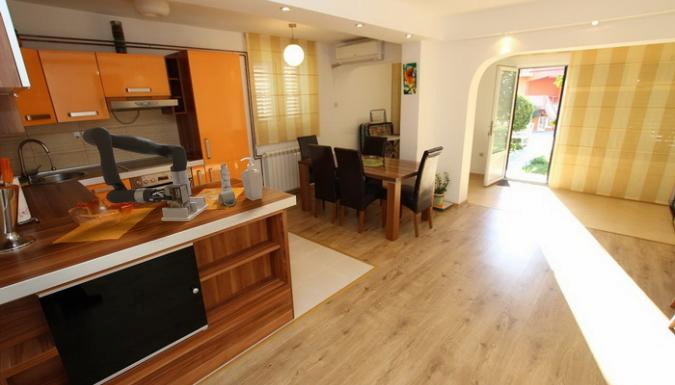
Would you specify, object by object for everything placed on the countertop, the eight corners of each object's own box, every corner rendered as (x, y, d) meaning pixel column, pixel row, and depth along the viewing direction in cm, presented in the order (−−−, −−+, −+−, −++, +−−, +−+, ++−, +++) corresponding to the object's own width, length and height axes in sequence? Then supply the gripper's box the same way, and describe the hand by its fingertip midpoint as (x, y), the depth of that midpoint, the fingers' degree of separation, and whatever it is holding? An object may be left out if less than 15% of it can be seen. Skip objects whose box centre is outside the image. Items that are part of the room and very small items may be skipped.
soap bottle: (240, 197, 195) (236, 157, 188) (255, 194, 202) (251, 155, 194) (249, 202, 186) (245, 160, 179) (264, 198, 193) (260, 157, 185)
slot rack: (184, 207, 181) (182, 196, 179) (208, 207, 180) (206, 196, 178) (161, 220, 161) (159, 209, 159) (189, 221, 160) (187, 209, 158)
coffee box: (192, 212, 168) (187, 183, 163) (185, 216, 162) (180, 187, 157) (176, 211, 169) (171, 183, 164) (169, 216, 163) (163, 186, 158)
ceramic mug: (218, 203, 186) (217, 191, 183) (232, 200, 191) (230, 188, 188) (224, 208, 178) (223, 195, 175) (238, 205, 183) (237, 192, 180)
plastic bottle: (222, 196, 199) (218, 166, 193) (221, 193, 205) (217, 164, 199) (233, 194, 202) (229, 164, 196) (231, 192, 208) (227, 163, 202)
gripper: (136, 192, 156) (166, 192, 155) (154, 184, 169) (182, 184, 168) (139, 206, 158) (169, 206, 157) (156, 197, 172) (184, 198, 170)
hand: (176, 195), depth 162 cm, fingers open, 8 cm apart
